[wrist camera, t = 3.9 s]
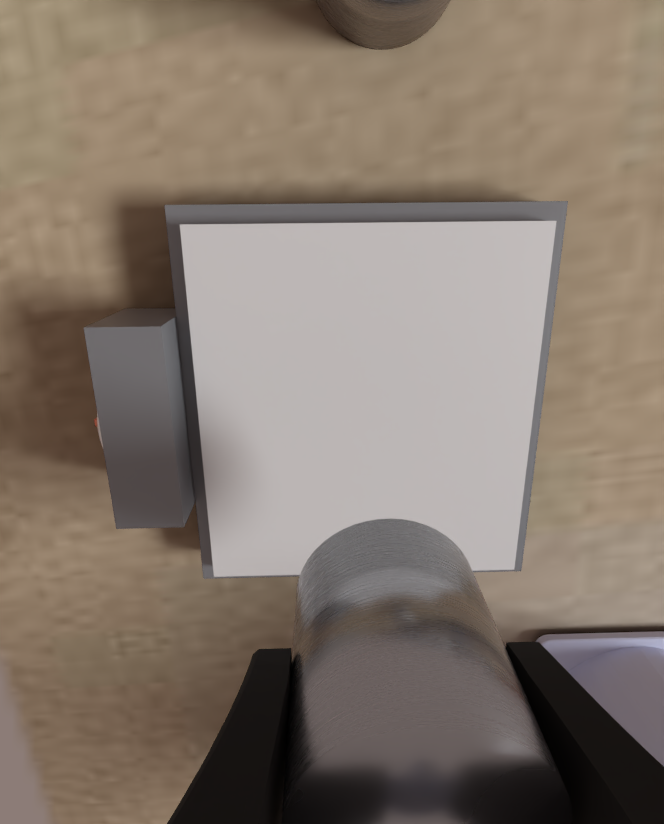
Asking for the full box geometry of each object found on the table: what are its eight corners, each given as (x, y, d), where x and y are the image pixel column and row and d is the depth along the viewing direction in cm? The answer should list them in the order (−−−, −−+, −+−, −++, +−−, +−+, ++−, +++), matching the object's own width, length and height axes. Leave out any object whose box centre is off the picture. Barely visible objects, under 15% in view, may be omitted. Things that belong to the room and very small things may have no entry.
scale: (506, 545, 20) (539, 601, 17) (149, 553, 20) (120, 611, 17) (544, 202, 16) (596, 198, 13) (101, 207, 16) (51, 204, 13)
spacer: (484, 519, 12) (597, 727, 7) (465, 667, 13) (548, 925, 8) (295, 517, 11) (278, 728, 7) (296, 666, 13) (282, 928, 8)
